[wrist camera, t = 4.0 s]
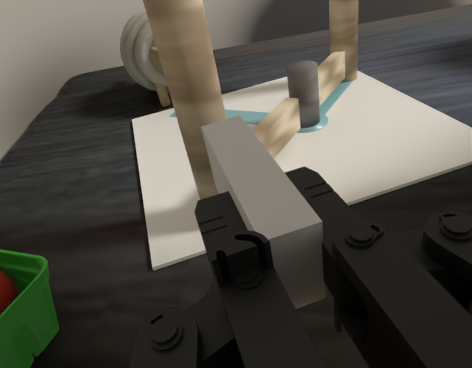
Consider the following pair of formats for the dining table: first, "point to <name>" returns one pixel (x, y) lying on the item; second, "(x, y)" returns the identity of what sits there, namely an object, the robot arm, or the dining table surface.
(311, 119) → the wooden post with ball
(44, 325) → the fruit basket
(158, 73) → the toy sheep
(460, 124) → the card
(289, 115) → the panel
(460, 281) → the robot arm
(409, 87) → the dining table surface
